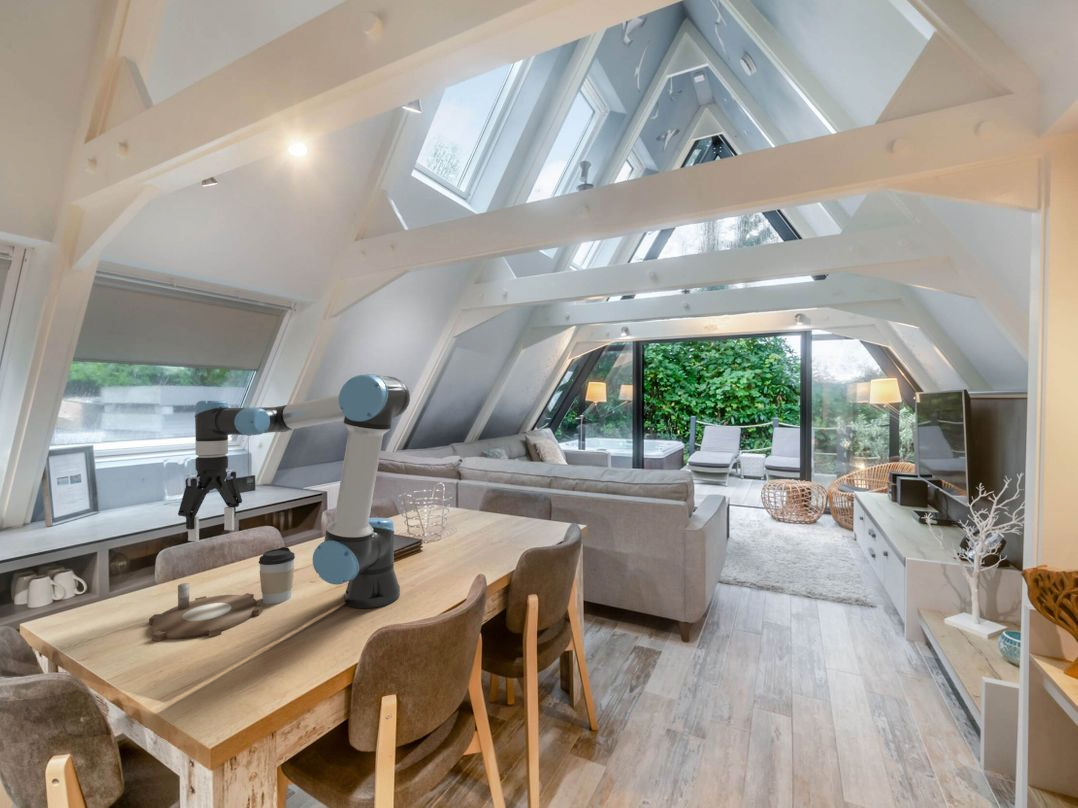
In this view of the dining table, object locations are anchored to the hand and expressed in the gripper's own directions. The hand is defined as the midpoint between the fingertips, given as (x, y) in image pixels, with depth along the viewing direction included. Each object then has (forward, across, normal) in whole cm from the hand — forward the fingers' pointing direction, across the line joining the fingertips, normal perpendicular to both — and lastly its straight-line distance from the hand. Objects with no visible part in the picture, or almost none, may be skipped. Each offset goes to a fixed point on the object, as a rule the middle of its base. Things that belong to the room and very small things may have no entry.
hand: (212, 535), depth 134 cm
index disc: (+18, +9, +8) cm, 22 cm away
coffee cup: (+20, -6, +16) cm, 26 cm away
